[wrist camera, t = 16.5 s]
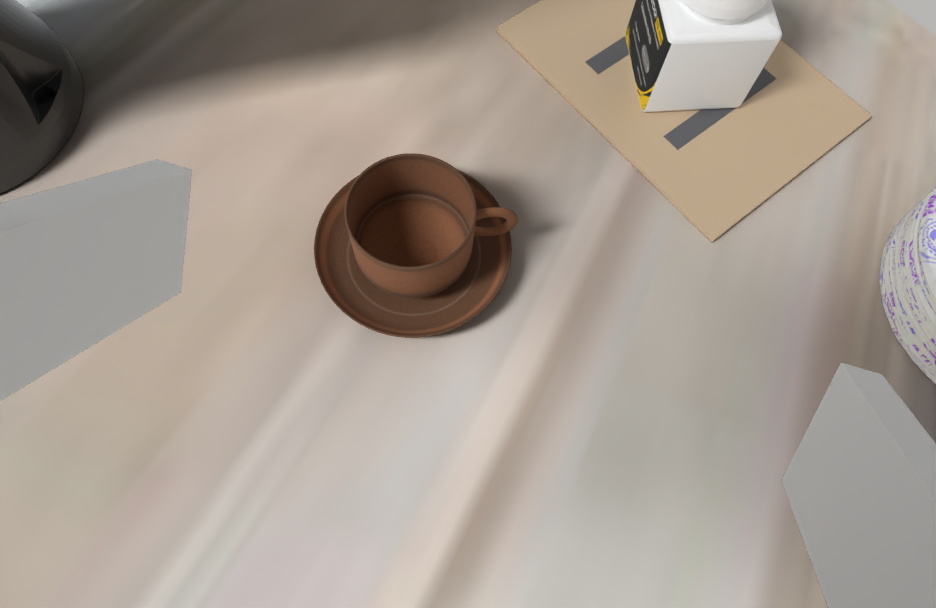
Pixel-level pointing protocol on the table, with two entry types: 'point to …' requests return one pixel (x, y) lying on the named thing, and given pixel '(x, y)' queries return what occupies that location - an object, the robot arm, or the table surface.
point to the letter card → (687, 113)
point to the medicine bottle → (699, 51)
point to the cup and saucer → (413, 247)
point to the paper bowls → (913, 283)
